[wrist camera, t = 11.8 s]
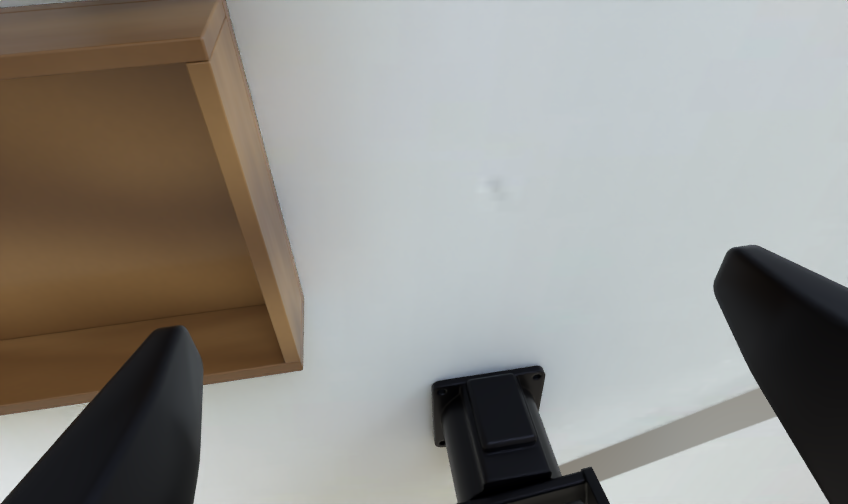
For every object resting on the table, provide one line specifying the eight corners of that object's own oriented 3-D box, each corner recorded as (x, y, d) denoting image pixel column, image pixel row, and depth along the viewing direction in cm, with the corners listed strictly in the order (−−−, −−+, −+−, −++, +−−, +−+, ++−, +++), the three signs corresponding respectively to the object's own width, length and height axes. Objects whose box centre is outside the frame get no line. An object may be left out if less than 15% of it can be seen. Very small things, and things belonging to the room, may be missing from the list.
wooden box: (304, 298, 25) (303, 370, 22) (-76, 350, 23) (-135, 436, 20) (223, -11, 16) (202, 37, 13) (-395, 40, 14) (-583, 108, 11)
